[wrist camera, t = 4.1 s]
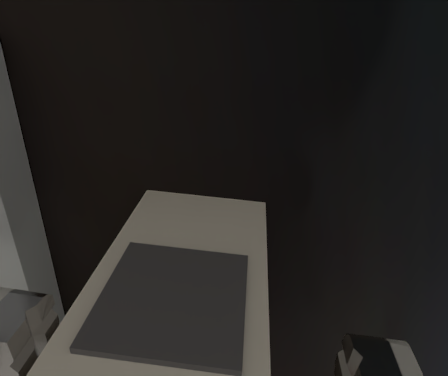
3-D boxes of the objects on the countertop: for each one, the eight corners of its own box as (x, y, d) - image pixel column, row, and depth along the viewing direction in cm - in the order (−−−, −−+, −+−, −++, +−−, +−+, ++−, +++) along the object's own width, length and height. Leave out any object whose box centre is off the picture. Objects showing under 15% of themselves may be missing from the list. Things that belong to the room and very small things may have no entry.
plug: (265, 198, 11) (274, 444, 5) (250, 309, 13) (241, 567, 7) (147, 185, 11) (0, 405, 5) (152, 296, 13) (60, 536, 7)
